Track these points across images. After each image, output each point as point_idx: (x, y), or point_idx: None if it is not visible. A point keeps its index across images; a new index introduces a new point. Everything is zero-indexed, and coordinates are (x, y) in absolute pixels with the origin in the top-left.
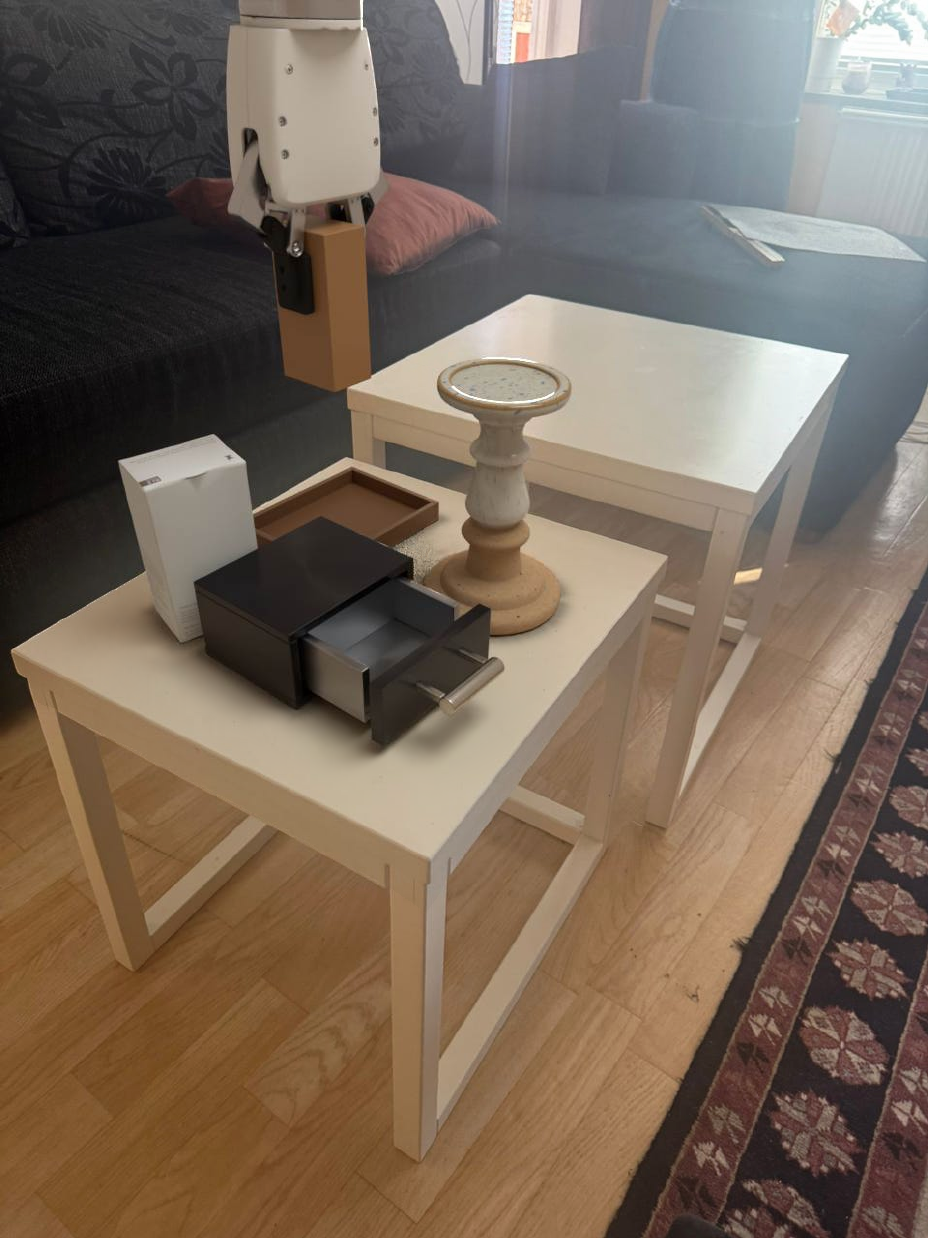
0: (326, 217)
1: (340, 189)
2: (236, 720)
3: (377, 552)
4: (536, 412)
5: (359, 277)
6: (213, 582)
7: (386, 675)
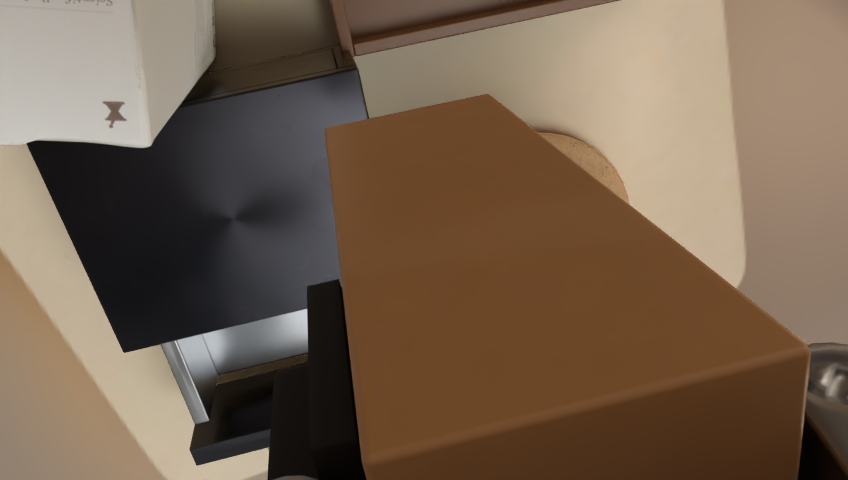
0: (826, 451)
1: None
2: (70, 255)
3: None
4: None
5: None
6: (60, 165)
7: (216, 449)
